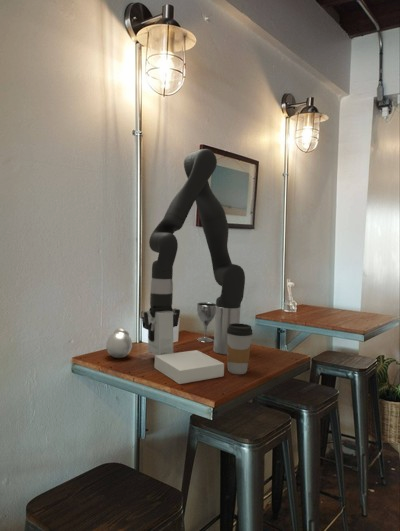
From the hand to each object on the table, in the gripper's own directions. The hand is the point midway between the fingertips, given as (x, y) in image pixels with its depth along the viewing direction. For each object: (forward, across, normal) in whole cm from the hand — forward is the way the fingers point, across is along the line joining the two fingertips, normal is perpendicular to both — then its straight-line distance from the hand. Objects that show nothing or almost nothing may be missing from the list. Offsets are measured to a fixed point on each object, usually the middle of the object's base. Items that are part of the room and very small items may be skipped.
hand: (160, 339), depth 144 cm
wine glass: (+8, -30, -16) cm, 35 cm away
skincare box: (+5, 0, 0) cm, 5 cm away
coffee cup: (+7, -18, +21) cm, 28 cm away
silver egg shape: (+7, +11, -8) cm, 16 cm away
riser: (+7, -2, +15) cm, 17 cm away
